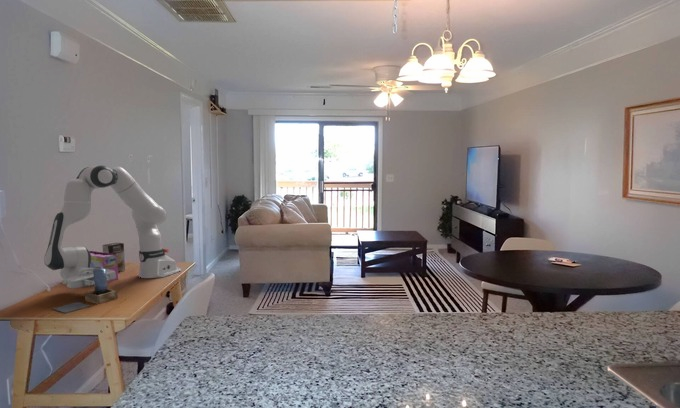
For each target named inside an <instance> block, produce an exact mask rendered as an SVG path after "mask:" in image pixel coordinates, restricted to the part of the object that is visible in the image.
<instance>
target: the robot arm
mask: <svg viewBox="0 0 680 408" xmlns="http://www.w3.org/2000/svg"><path fill="white" fill-rule="evenodd" d="M107 187H110V188H112V190H113V191H114V192H115V193H116V194H117V195H118V196H119V198H120V199H121V201H123V202H124V204H125V205H126V206H128V207H129V208H131V217H132V219H133V221H134V224H135V226H136V231H137V234H138V244H139V250H138V257H139V270H138V271H139V272H138V276H139V277H138V276H137V277H138V278H140V277H141V278H140V279H155V278H157V279H158V278H165V277H169V276H171V275H173V274H177V273H180V272H182V269H181V267H178V265H177V263H176V260H175V259H174V258H171V257H170V256H169V255H166V253H169V251H170V250H169V248H163V247H162V245H163V244H162V234H161V232H160V229H159V228H158V225H162V224H163V223H165V222H166V219H167V215H168V214H167V212H166V209H164V208H163V207H162V206H161V205H160V204H158V203H157V202H156V201H155V200H154V199H153V198H152V197H151V196H149V194H148V193H146V191H144V189H143V188H142V187H141V185H140V184H139V183H138V182H137V181H136V180H135V179H134V177H133V176H132V175H131V174H130V173H129V172H128V171H127V170H126V169H124V168H123V167H122V166H114V167H109V166H106V165H92V166H87V167H85V168H83V169H82V170H81V171H79V174H78V176H76V178H73V179H71V180H68V182H67V183H66V185H65V190H64V197H63V205H62V208H61V210H60V212H58V213H56V215H55V217H54V220H53V223H52V227H51V232H50V237H49V241H48V246H47V249H46V250H45V251H46V252H45V253H44V258H43V259H44V261H43V262H44V265H45V266H46V267H47V268H49V269H50V270H52V271H56V270H57V271H58V270H59V276H60V278H61V280H62V285H66V286H67V288H68V289H71V290H74V289H75V290H76V289H78V288H88V287H91V286H93V285H95V280H94V274H93V270H94V269H97V268H104V267H95V268H89V266H90V263H91V254H90V252H89V251H90V250H89V249H88V248H86V247H85V246H82V245H81V246H80V245H79V246H71V247H69V246H67V247H62V244H63V239H64V235H65V231H66V229H67V228H68V227H69V226H71V225H72V224H76V223H78V222H81V221H82V220H84V219H86V218H87V217H88V216H89V215H90V213H91V208H92V207H91V206H92V203H91V202H92V201H91V200H92V197H91V196H92V193H93V191H94V189H102V188H104V189H105V188H107ZM179 271H180V272H179ZM106 277H107V281H109V280H112V279H115V277H116V273H115V271H114V270H110V269H106Z"/></svg>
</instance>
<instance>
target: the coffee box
mask: <svg viewBox="0 0 680 408" xmlns="http://www.w3.org/2000/svg"><path fill="white" fill-rule="evenodd" d="M124 246H125V244H124V243H123V242H112V243H107V244H103V245H102V253H110V254H116V255H117V265H118V273H120V272H119V271H122V270H125V271H126V263H125V247H124ZM122 272H123V271H122Z"/></svg>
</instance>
